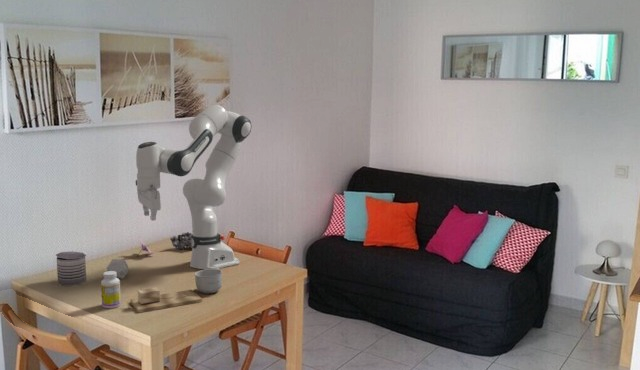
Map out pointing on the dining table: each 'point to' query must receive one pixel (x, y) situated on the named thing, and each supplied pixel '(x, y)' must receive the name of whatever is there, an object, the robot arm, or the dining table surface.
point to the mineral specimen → (182, 240)
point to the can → (71, 268)
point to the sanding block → (148, 296)
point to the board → (168, 301)
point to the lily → (144, 248)
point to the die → (118, 267)
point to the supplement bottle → (110, 290)
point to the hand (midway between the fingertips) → (149, 217)
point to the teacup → (208, 280)
